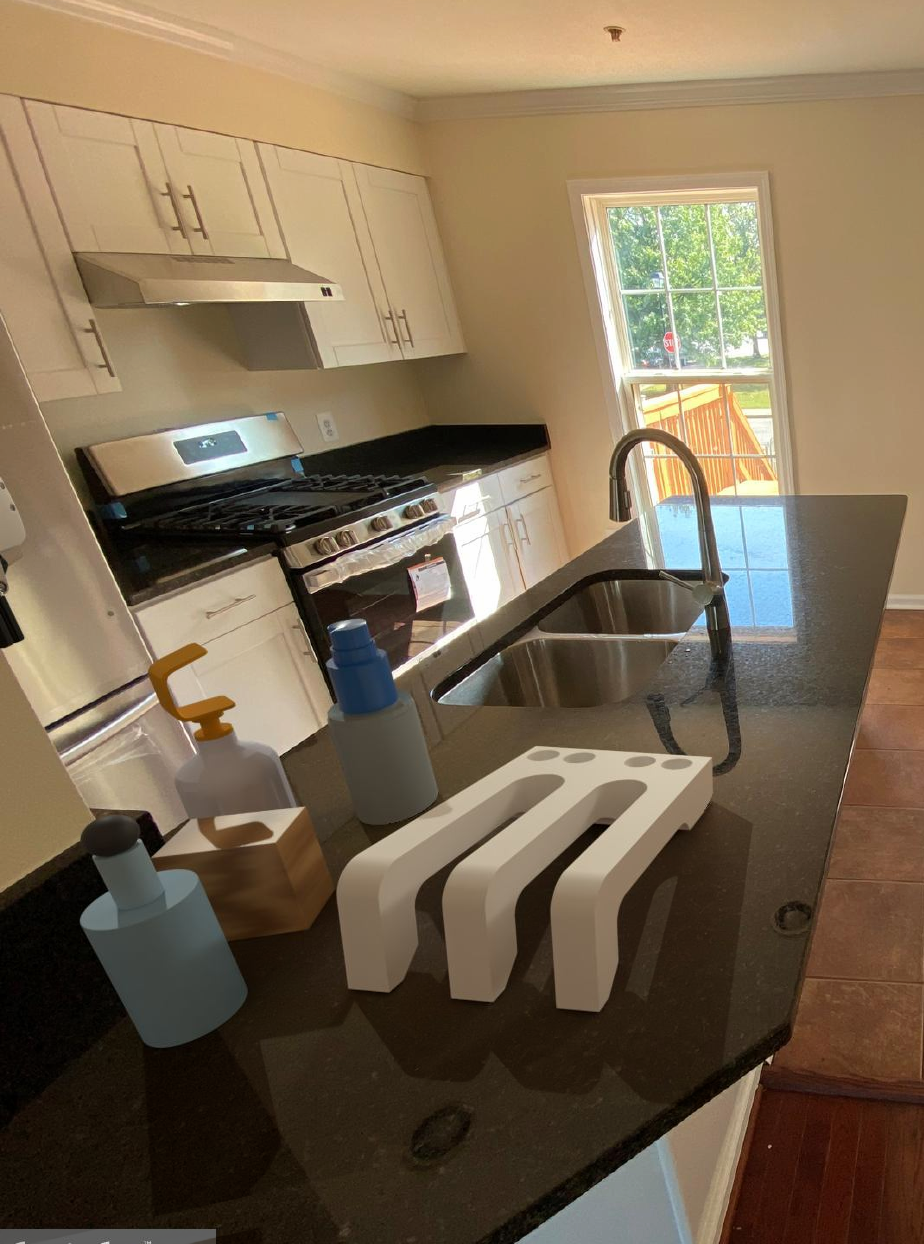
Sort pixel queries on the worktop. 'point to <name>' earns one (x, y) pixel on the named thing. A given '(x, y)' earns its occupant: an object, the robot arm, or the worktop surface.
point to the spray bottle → (376, 730)
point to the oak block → (254, 869)
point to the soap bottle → (220, 754)
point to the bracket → (521, 869)
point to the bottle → (158, 940)
